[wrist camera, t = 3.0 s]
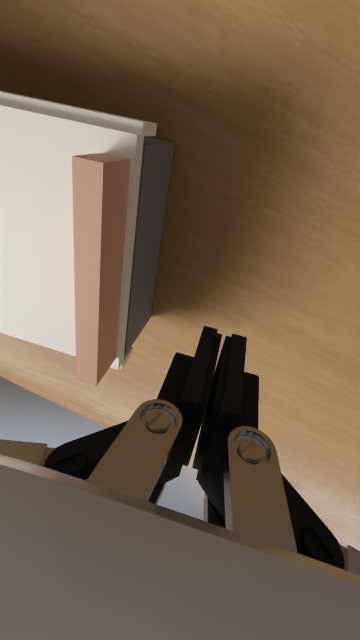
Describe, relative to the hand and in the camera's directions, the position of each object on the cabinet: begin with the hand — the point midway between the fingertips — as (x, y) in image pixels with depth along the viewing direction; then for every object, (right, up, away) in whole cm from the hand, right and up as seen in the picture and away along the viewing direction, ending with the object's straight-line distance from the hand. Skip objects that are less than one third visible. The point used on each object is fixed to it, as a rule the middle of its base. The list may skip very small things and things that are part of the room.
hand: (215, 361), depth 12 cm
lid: (-11, +7, +7) cm, 15 cm away
